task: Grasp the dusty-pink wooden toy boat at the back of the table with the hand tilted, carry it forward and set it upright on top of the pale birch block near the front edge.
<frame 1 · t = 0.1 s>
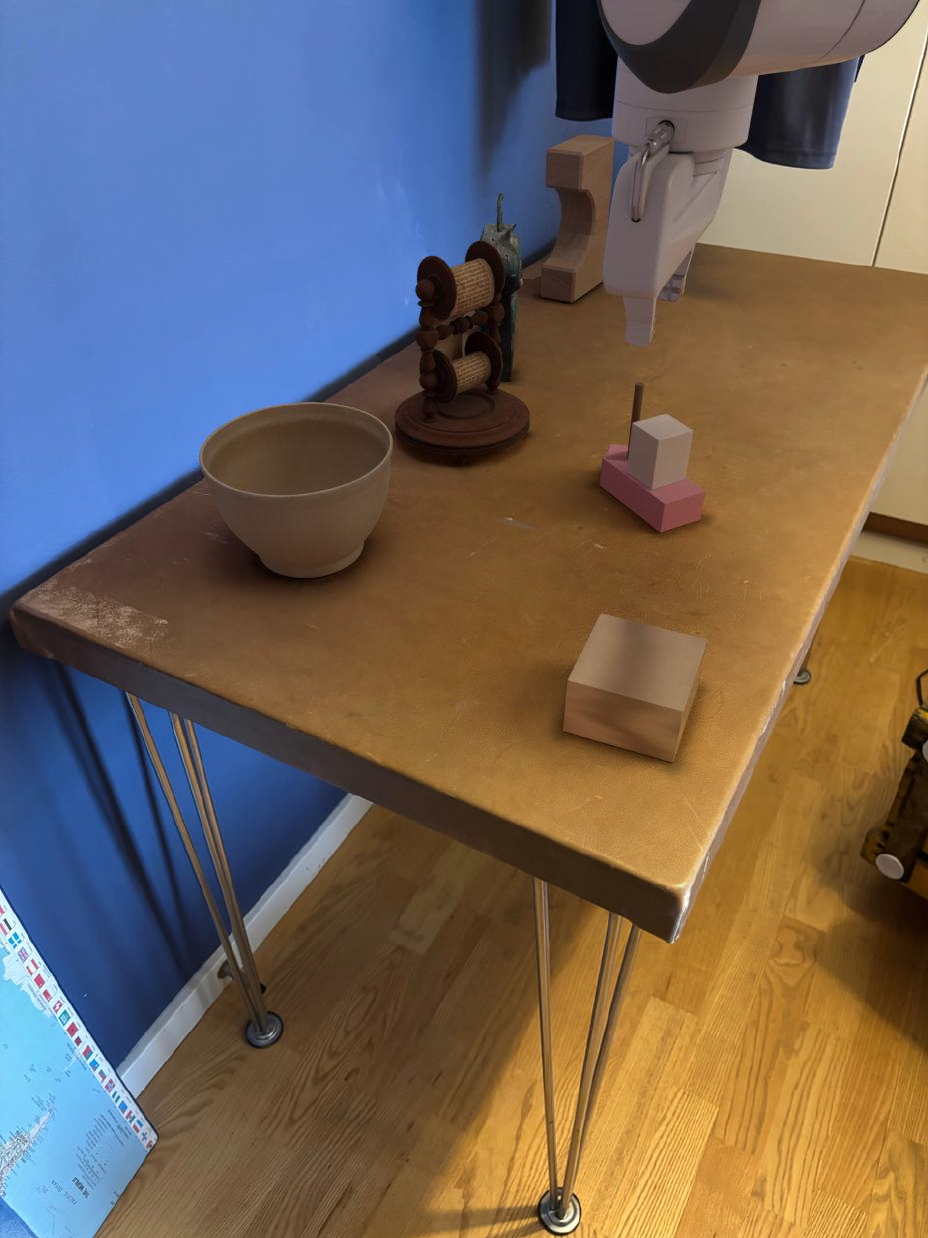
hand: (655, 319, 68), 22 cm above the table, tool pointing down, fingers open, 8 cm apart
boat: (648, 502, 90), on the table
birch block: (631, 710, 67), on the table
decorative block: (571, 291, 137), on the table
planter bowl: (311, 552, 84), on the table
scroll: (462, 436, 101), on the table
ceramic cat: (493, 356, 118), on the table
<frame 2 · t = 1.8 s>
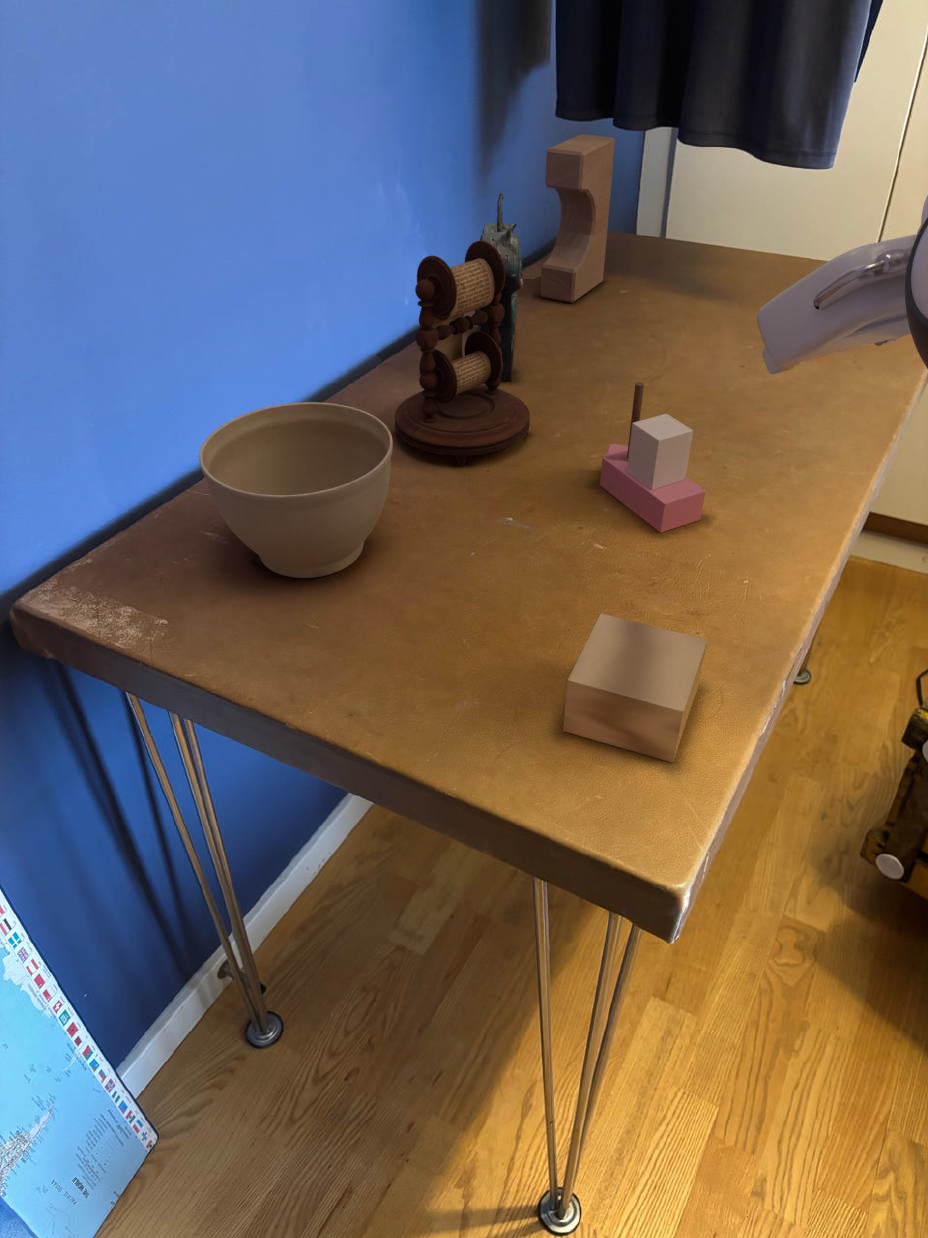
hand: (827, 347, 61), 23 cm above the table, tool tilted 45°, fingers open, 8 cm apart
nothing on the table moved.
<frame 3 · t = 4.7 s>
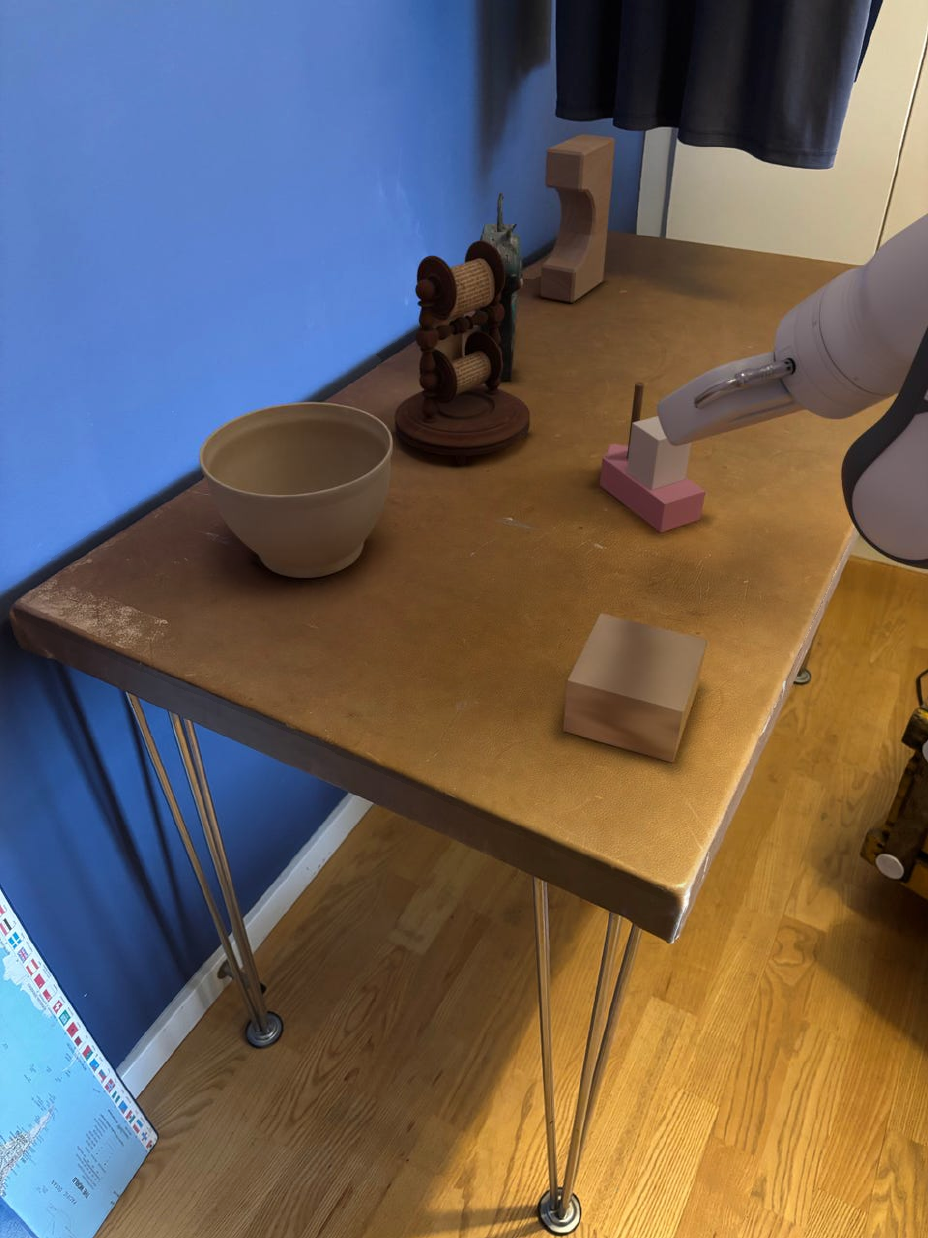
hand: (723, 421, 76), 12 cm above the table, tool tilted 45°, fingers open, 8 cm apart
nothing on the table moved.
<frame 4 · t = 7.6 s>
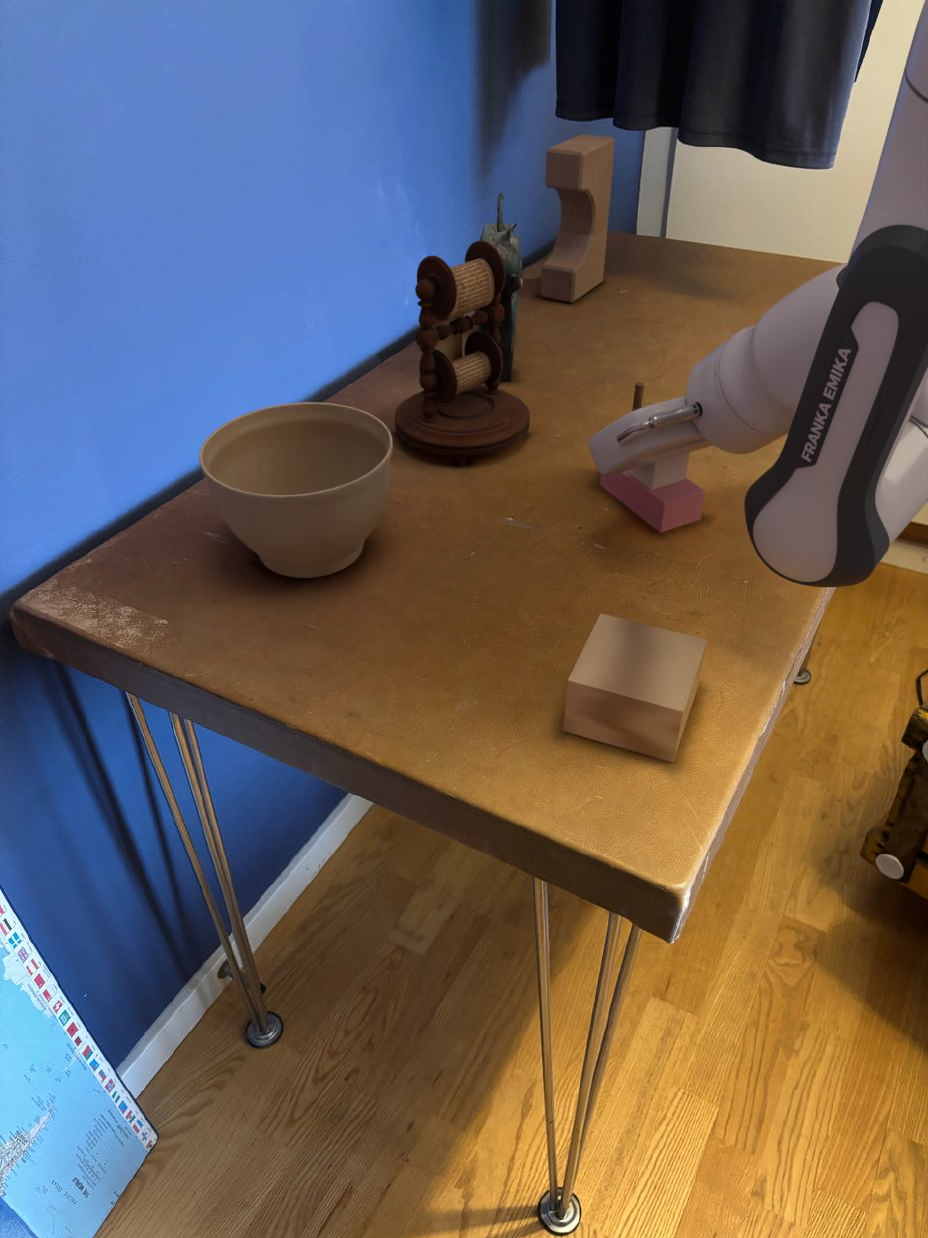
hand: (654, 452, 86), 5 cm above the table, tool tilted 45°, fingers closed on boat, 4 cm apart
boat: (648, 502, 90), on the table, touching gripper
everything else where it was.
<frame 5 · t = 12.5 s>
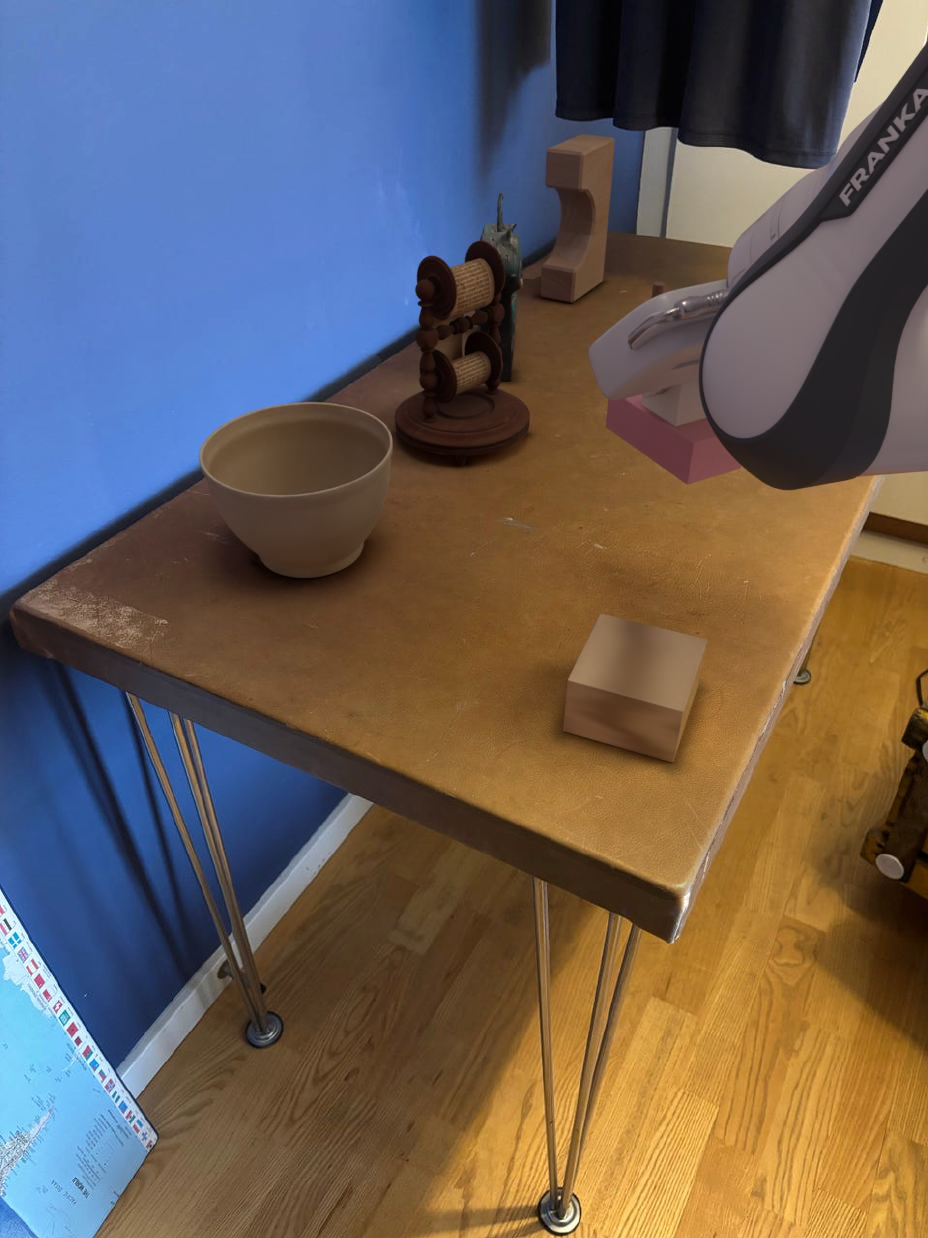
hand: (679, 377, 64), 20 cm above the table, tool tilted 45°, fingers closed on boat, 4 cm apart
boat: (670, 447, 67), point 15 cm above the table, touching gripper
everything else where it was.
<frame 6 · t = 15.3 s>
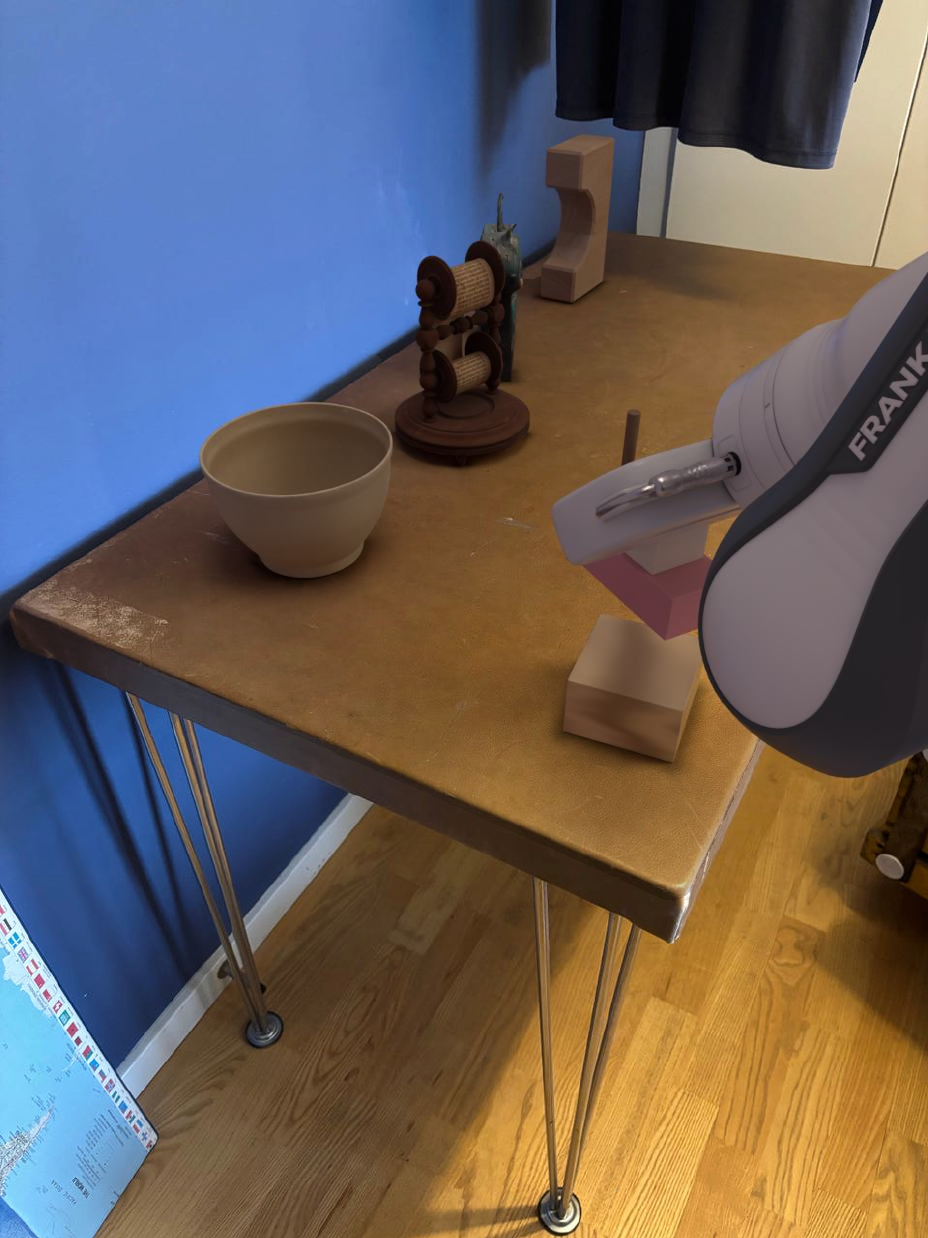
hand: (657, 517, 57), 17 cm above the table, tool tilted 45°, fingers closed on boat, 4 cm apart
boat: (646, 587, 60), point 11 cm above the table, touching gripper
everything else where it was.
when the fingers open (10 cm above the table, at t = 17.5 s): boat stays where it is, resting on birch block.
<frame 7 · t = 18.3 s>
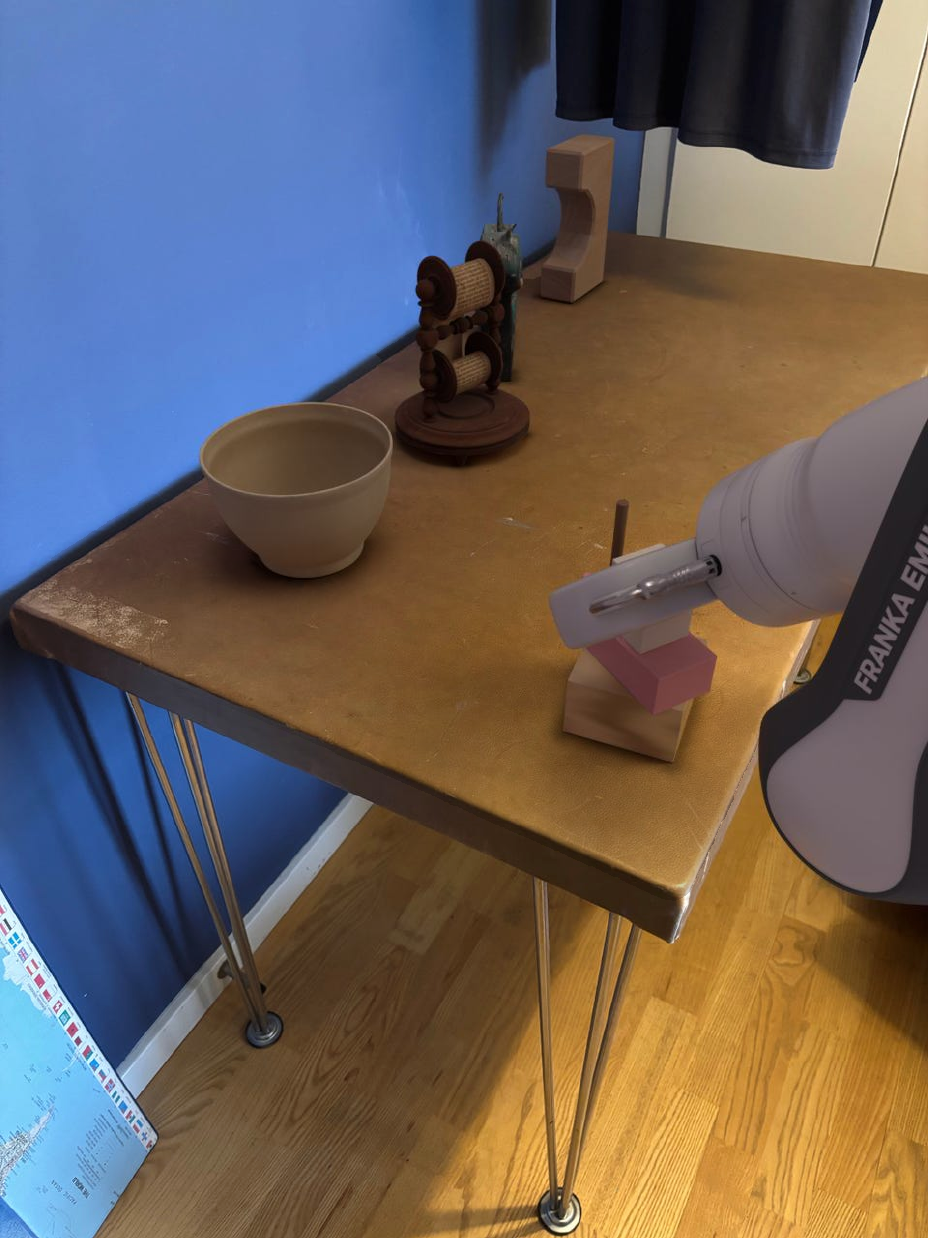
hand: (649, 590, 60), 11 cm above the table, tool tilted 45°, fingers open, 8 cm apart
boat: (636, 659, 64), point 5 cm above the table, touching birch block
everything else where it was.
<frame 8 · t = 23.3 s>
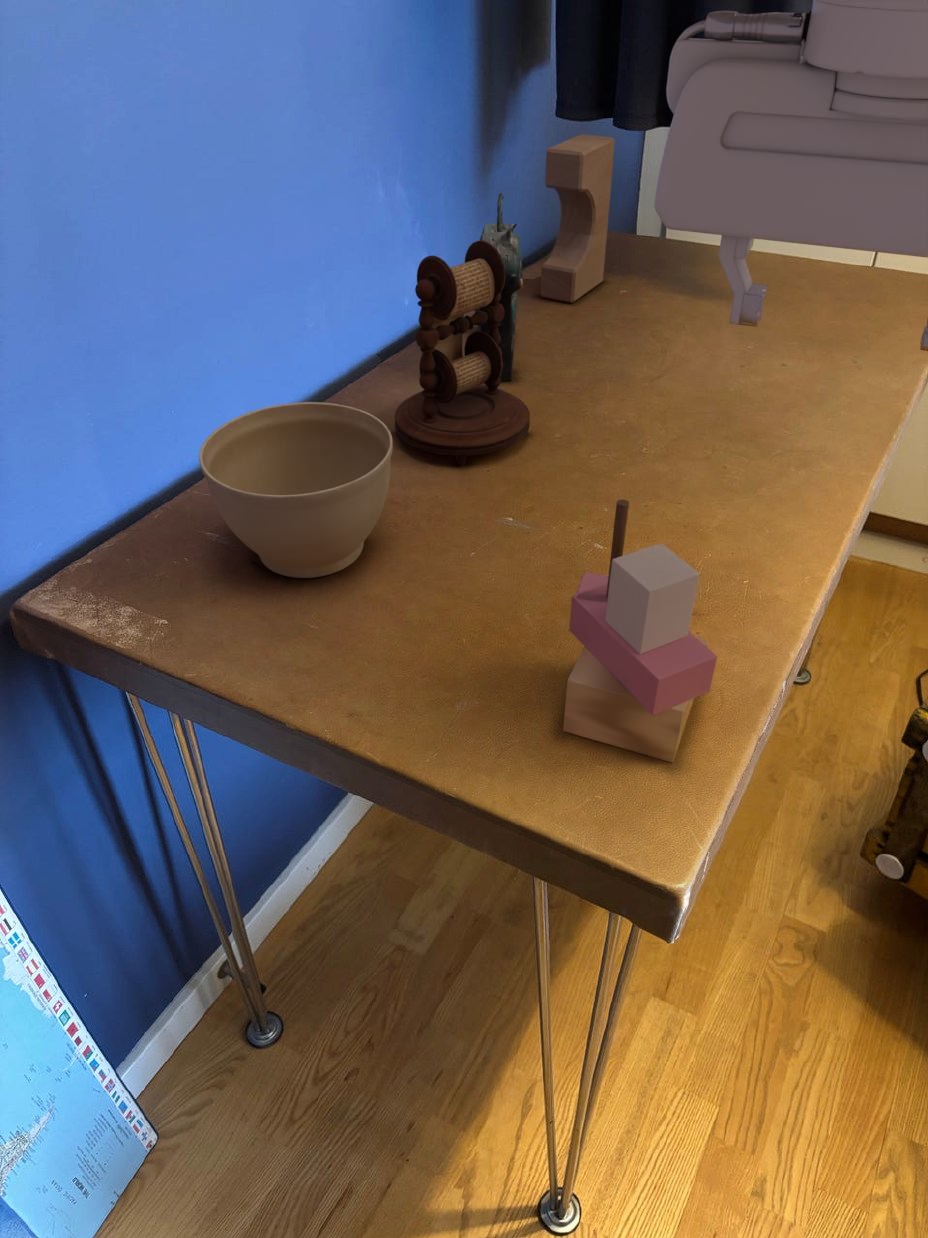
hand: (837, 334, 47), 29 cm above the table, tool pointing down, fingers open, 8 cm apart
nothing on the table moved.
at the end: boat 0.3 cm off-centre on the birch block, point 5.0 cm above the birch block's base; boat tilted 0°; the gripper is holding nothing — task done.
